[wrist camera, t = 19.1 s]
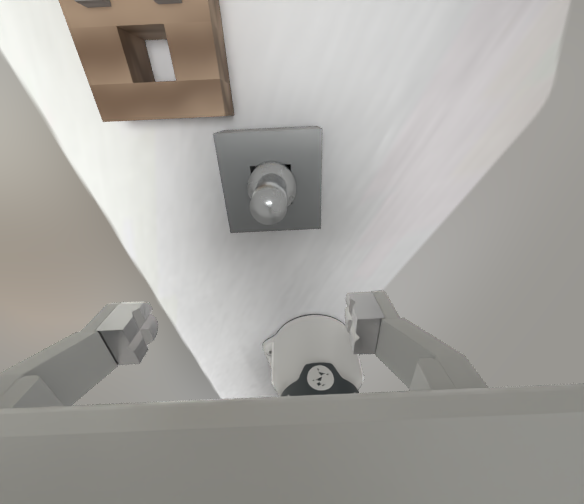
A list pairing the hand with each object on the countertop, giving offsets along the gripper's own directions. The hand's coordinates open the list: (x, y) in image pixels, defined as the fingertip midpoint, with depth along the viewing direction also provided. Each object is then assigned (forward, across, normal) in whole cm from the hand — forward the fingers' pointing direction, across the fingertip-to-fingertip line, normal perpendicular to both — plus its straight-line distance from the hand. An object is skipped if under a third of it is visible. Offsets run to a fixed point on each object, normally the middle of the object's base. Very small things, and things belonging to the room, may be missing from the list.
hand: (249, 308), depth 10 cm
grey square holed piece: (+25, 0, 0) cm, 25 cm away
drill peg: (+25, 0, 0) cm, 25 cm away
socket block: (+25, +10, -15) cm, 31 cm away
